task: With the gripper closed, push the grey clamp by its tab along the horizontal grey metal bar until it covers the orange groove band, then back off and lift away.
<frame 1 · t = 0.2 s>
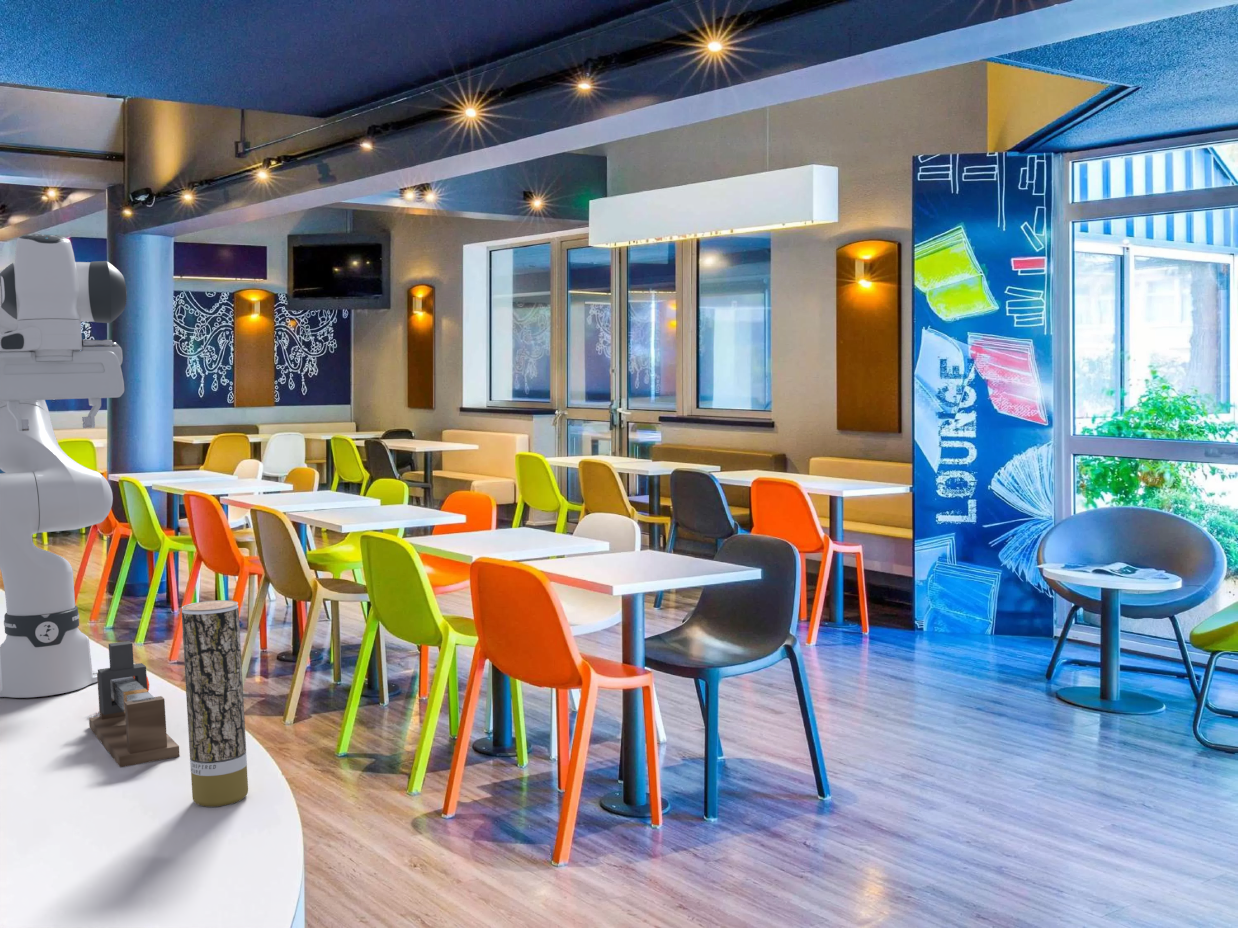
hand: (56, 429, 186), 47 cm above the counter, fingers open, 8 cm apart
grey metal bar: (129, 695, 180), point 7 cm above the counter
paper tube: (220, 800, 153), on the counter
grey clamp: (122, 676, 184), point 9 cm above the counter, slide at 0.0 cm
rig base: (132, 740, 180), on the counter
clementine: (125, 708, 200), on the counter
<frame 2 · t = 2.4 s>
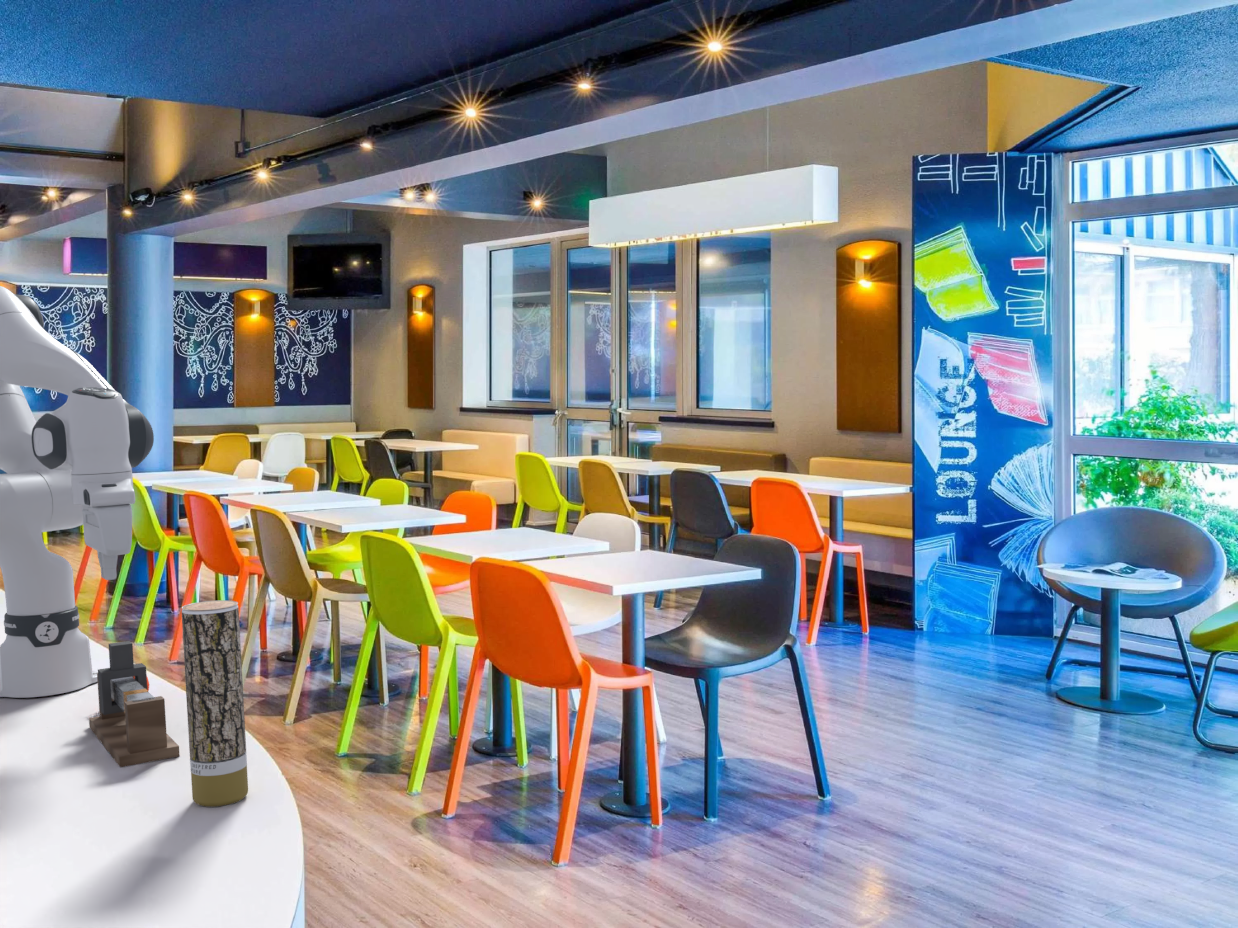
hand: (109, 578, 189), 23 cm above the counter, fingers closed
nothing on the counter moved.
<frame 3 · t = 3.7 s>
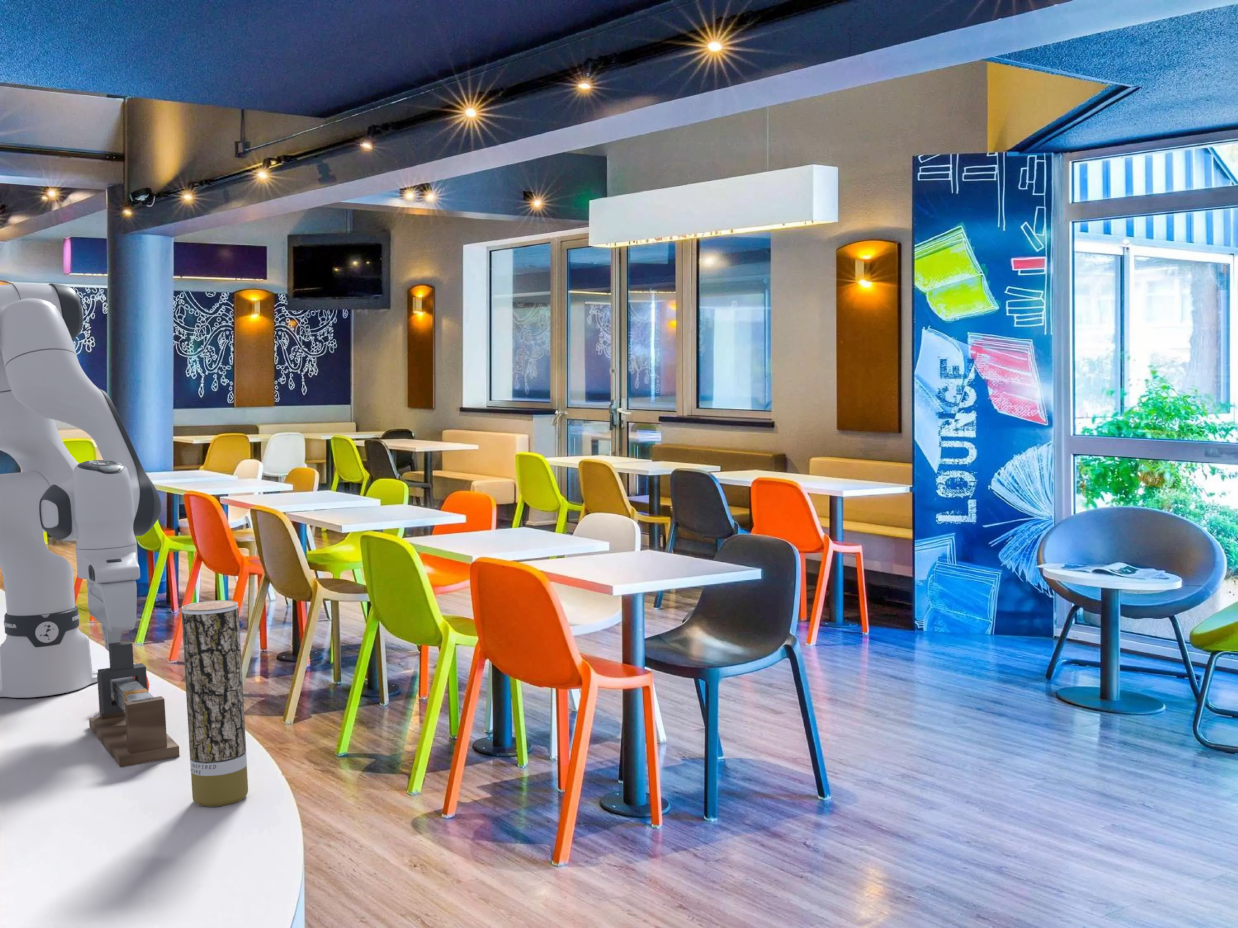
hand: (113, 651, 189), 12 cm above the counter, fingers closed
nothing on the counter moved.
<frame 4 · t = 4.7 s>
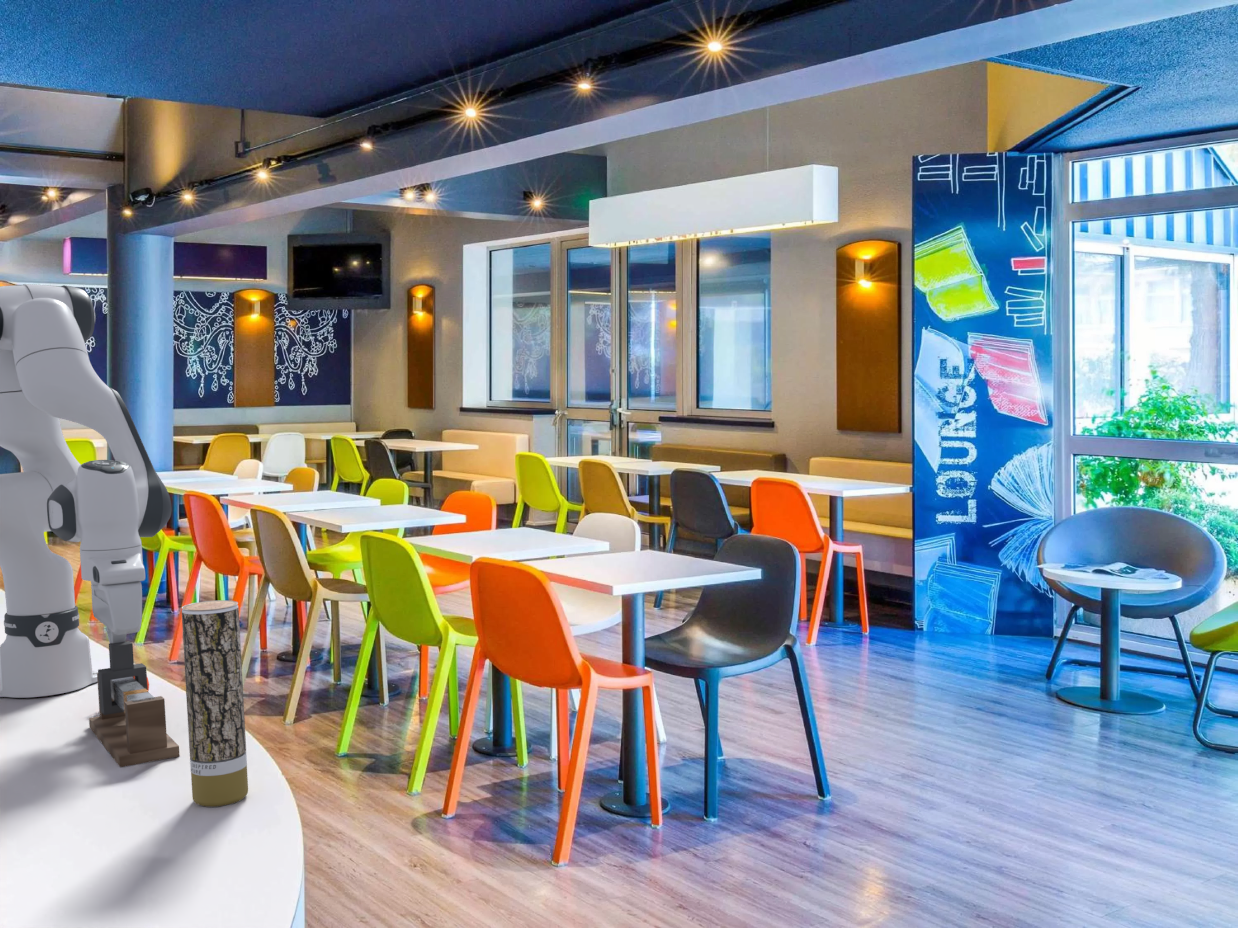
hand: (118, 654, 186), 12 cm above the counter, fingers closed
grey clamp: (122, 676, 184), point 9 cm above the counter, slide at 0.1 cm, touching gripper
everything else where it was.
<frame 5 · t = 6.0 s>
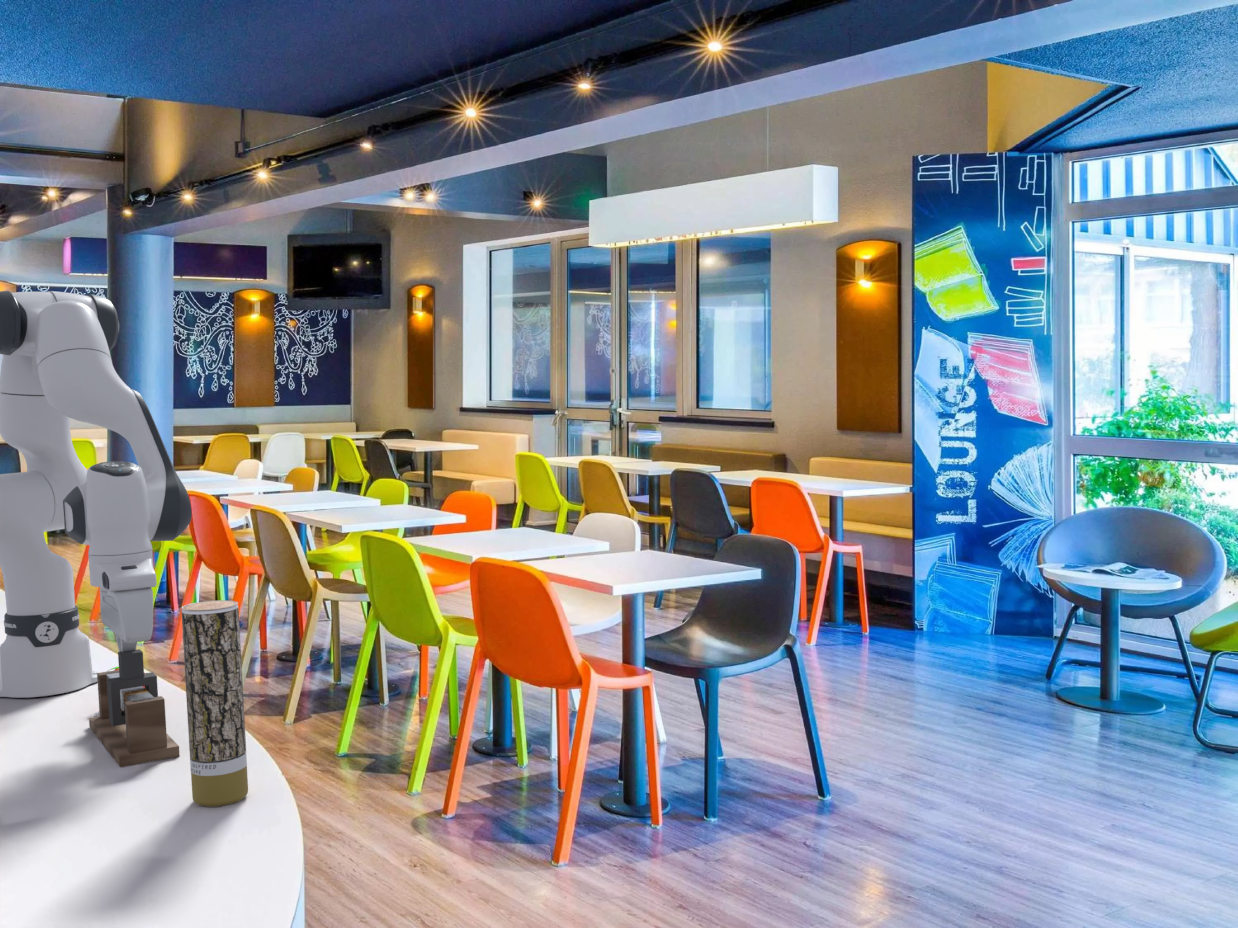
hand: (127, 662, 180), 12 cm above the counter, fingers closed
grey clamp: (132, 685, 177), point 9 cm above the counter, slide at 7.6 cm, touching gripper
everything else where it was.
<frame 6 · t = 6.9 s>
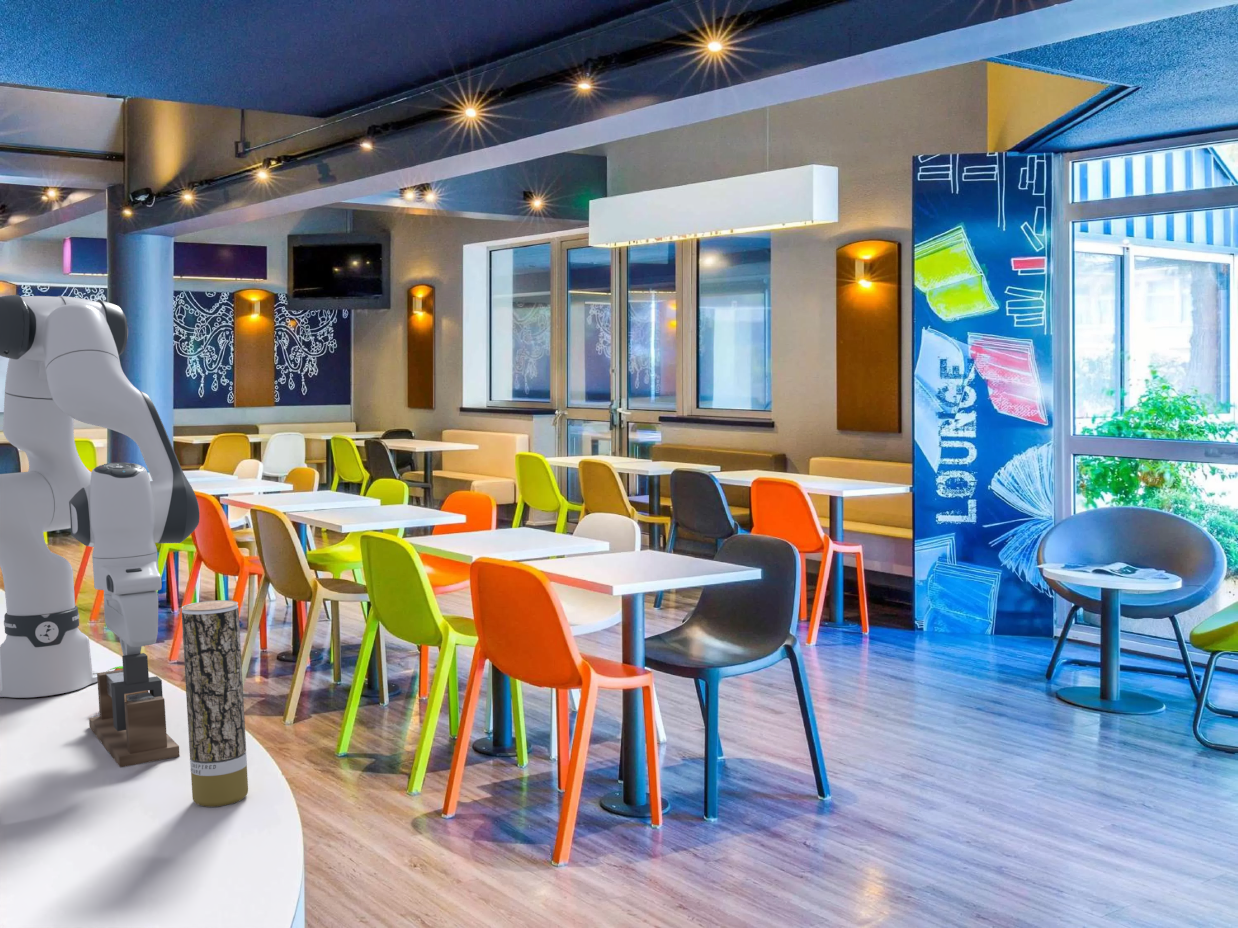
hand: (132, 666, 177), 12 cm above the counter, fingers closed
grey clamp: (136, 690, 175), point 9 cm above the counter, slide at 10.9 cm, touching gripper
everything else where it was.
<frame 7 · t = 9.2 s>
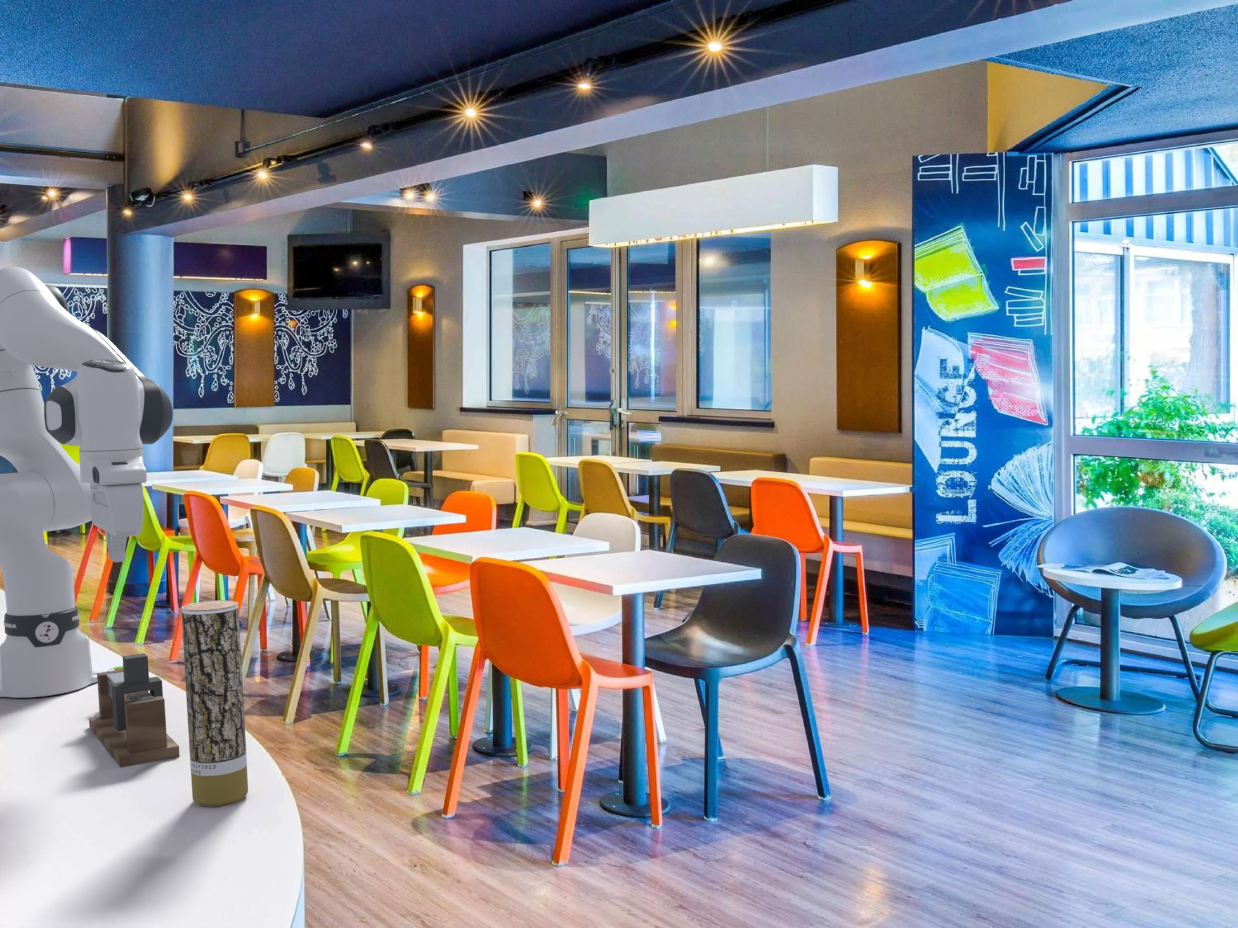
hand: (117, 560, 180), 27 cm above the counter, fingers closed
grey clamp: (137, 690, 175), point 9 cm above the counter, slide at 11.1 cm
everything else where it was.
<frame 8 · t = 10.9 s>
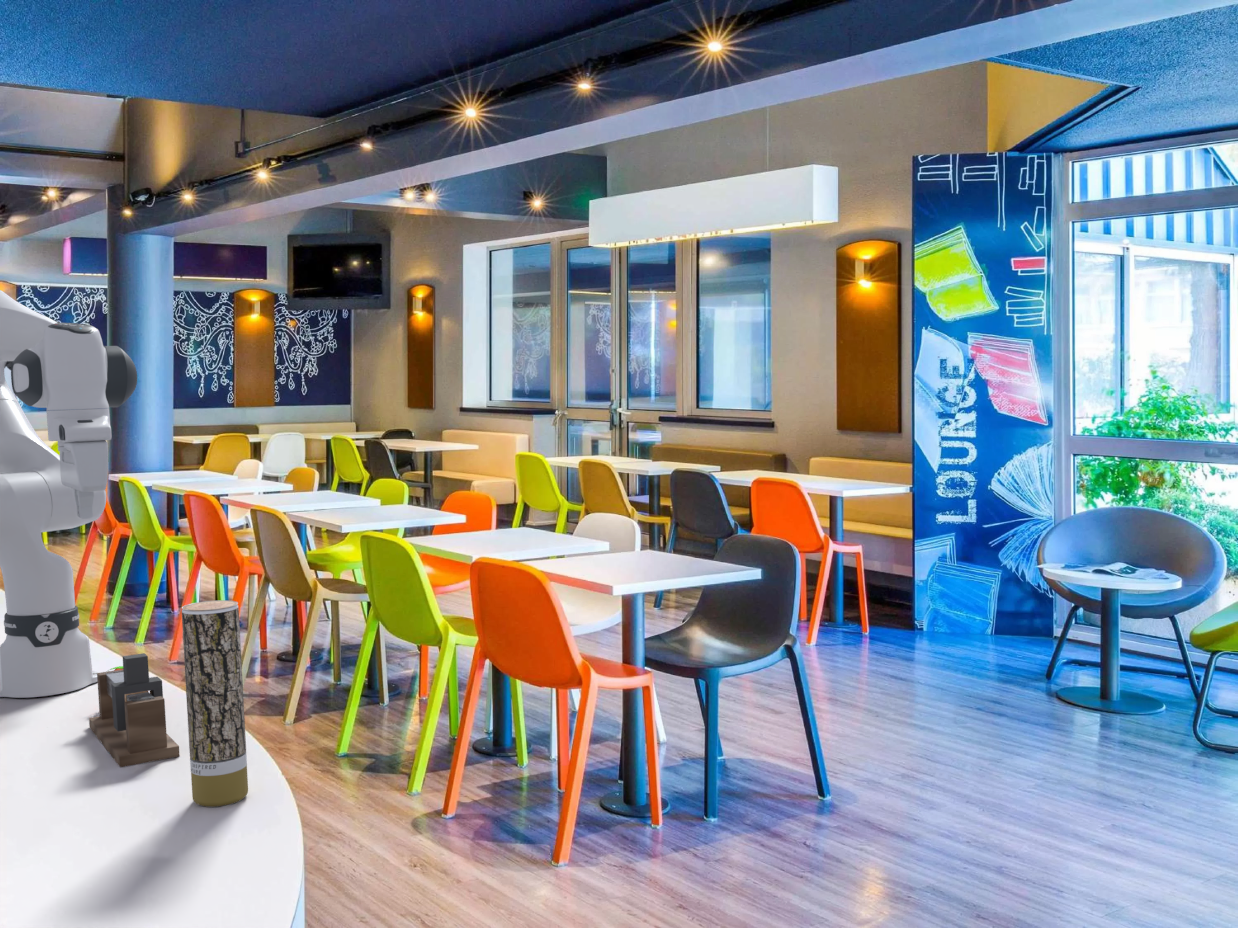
hand: (85, 517, 186), 33 cm above the counter, fingers closed
nothing on the counter moved.
at the end: grey clamp slide at 11.1 cm; paper tube moved 0.2 cm from its start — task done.
